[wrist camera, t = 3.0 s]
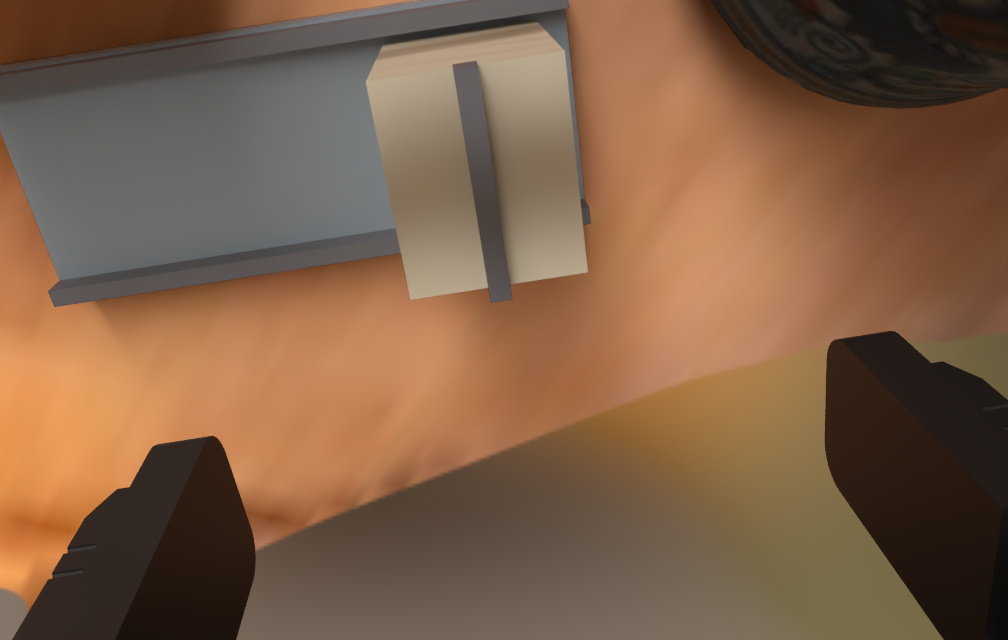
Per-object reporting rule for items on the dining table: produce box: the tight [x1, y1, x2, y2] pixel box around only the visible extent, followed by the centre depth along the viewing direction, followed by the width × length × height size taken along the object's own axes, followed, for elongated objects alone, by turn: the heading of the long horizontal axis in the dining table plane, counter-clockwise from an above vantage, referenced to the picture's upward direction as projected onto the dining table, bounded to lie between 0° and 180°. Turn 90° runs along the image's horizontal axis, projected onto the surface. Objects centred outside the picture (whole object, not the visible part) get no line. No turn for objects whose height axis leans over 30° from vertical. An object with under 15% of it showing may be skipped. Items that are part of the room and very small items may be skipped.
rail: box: [0, 0, 591, 307], centre depth 29 cm, size 8×19×2 cm, turn 98°
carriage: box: [366, 20, 588, 303], centre depth 25 cm, size 6×5×8 cm
